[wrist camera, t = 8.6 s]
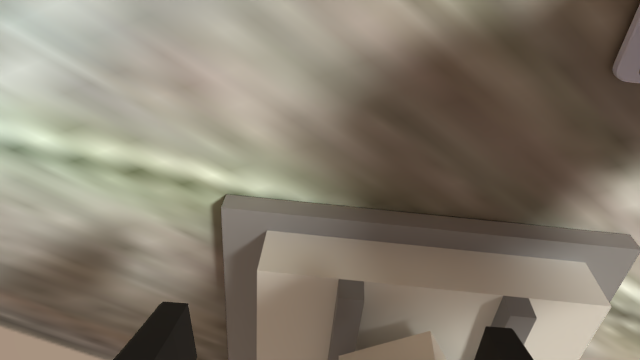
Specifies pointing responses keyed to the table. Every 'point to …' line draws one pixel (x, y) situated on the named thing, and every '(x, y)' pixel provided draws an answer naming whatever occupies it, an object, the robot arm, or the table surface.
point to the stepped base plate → (408, 280)
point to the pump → (401, 350)
